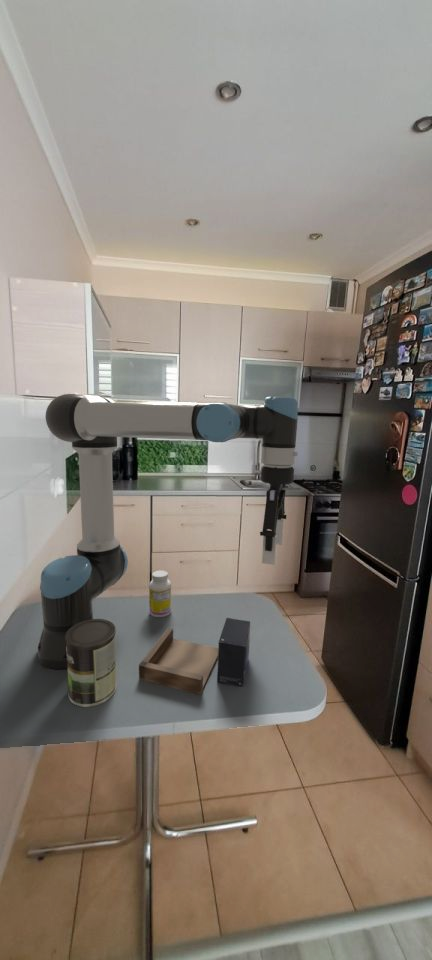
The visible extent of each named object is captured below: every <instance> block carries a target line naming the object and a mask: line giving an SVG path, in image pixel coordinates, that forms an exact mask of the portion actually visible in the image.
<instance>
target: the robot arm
mask: <svg viewBox="0 0 432 960" xmlns="http://www.w3.org/2000/svg"><path fill="white" fill-rule="evenodd" d="M298 405H299V403H298V400H297V399H296V398H295V397H290V396H267V397H265V399H264V402H263V404H262V405H239V404H231V403H226V402H217V401H215V402H211V403H210V402H207V403H206V402H201V403H198V402H141V401H140V402H136V401H134V402H127V401H125V402H124V401H122V402H120V401H118V402H117V401H114V400H112V399H110V398H109V397H103V396H101V395H100V396H99V395H86V394H76V393H67V394H66V393H65V394H60V395H58V396H57V397H55V398H53V399H52V401H50V403H49V404H48V405H47V408H46V410H45V423H46V426H47V427H48V430H49V431H50V433H52V435H53V436H55V437H56V438H57V439H59V440H60V441H64V442H67V443H71V448H72V449H73V450H74V451H75V452H76V453H77V454H78V467H79V468H78V470H79V471H78V473H79V493H80V515H81V516H80V517H81V518H80V519H81V536H82V537H81V540H80V541H78V543H77V544H76V554H75V555H66V556H65V557H59V558H57V559H54V560H52V561H50V562H49V563H48V564H47V565H46V566H44V567H43V569H42V571H41V573H40V584H39V585H40V586H39V588H40V589H39V590H40V597H41V609H42V619H43V620H42V621H43V628H42V632H41V635H40V638H39V642H38V646H37V659H38V662H39V663H40V664H41V665H42V666H44V667H46V668H48V669H53V670H64V669H67V652H66V641H65V634H66V632H67V631H68V630H69V629H70V628H71V627H72V626H74V625H75V624H77V623H80V622H82V621H86V620H90V619H94V612H93V609H94V608H93V601H94V600H95V599H96V598H97V597H99V596H100V595H101V594H103V593H104V592H106V591H107V590H108V589H109V588H110V587H112V586H114V585H115V584H116V583H118V581H120V580H121V578H122V577H123V576H124V575H125V574H126V572H127V570H128V569H127V568H128V563H129V561H128V555H127V553H126V551H125V550H124V548H123V546H122V545H121V542H120V540H119V539H118V538H117V537H116V536H115V522H114V521H115V520H114V519H115V517H114V515H115V513H114V485H113V484H114V482H113V481H114V480H113V477H114V476H113V453H114V451H115V450H116V449H118V438H139V439H164V440H165V439H166V440H189V441H190V440H193V441H209V442H212V443H227V442H228V441H232V440H234V439H256V440H257V439H261V440H262V445H261V459H260V460H261V462H260V463H261V464H263V465H262V466H261V468H260V481H261V482H262V483H264V484H268V485H269V488H268V490H266V493H265V494H266V498H265V508H264V516H263V524H262V525H263V526H262V531H260V532H259V536H262V537H263V539H262V556H261V558H262V559H261V564H266V565H272V566H274V565H275V563H276V547H277V546H276V545H279V546H282V545H283V537H284V536H283V535H284V533H283V530H284V520H287V514H286V511H285V502H286V501H285V500H286V489H285V486H286V485H291V484H293V483H294V478H295V477H294V476H295V475H294V474H295V468H294V467H293V465H294V464H295V457H298V455H299V454H298V452H297V451H295V450H296V443H297V433H298V419H299V418H298V413H299V411H298V410H299V409H298V408H299V407H298Z"/></svg>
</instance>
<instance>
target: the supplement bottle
mask: <svg viewBox="0 0 432 960" xmlns="http://www.w3.org/2000/svg"><path fill="white" fill-rule="evenodd" d="M168 574H169V573H168V572H167V571H166V570H161V569H160V570H156V571H154V572H152V573H151V576H152V580H151V581H150V582H149V584H148V589H149V591H148V592H149V593H148V594H149V598H148V599H149V602H148V603H149V614H150V615H151V616H153V617H154V618H165V617H166V616H169V615H170V614H171V613H172V582H171V580H170V579H168V578H169V575H168Z"/></svg>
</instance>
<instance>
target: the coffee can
mask: <svg viewBox="0 0 432 960" xmlns="http://www.w3.org/2000/svg"><path fill="white" fill-rule="evenodd" d="M116 632H117V630H116V625H115V624H114V623H113V622H112V621H110V620H108V619H104V618H93V619H90V620H86V621H82V622H80V623H77V624H75V625H74V626H72V627H71V628H70V629H69V630H68V631H67V632H66V634H65V641H66V652H67V668H66V669H67V682H68V695H67V696H68V699H69V701H70V702H71V703H72V704H73V705H74V704H75V705H74V706H76V705H77V706H76V707H81V708H92V707H97V706H99V705H102V704H104V703H105V702H107V701H108V700H110V699H111V698H112V697H113V695H114V694H115V692H116V691H117V686H118V683H117V659H116V657H117V656H116V654H117V653H116ZM91 706H92V707H91Z"/></svg>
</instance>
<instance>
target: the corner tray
mask: <svg viewBox="0 0 432 960" xmlns="http://www.w3.org/2000/svg"><path fill="white" fill-rule="evenodd" d="M217 661H218V647H215V646H210V645H206V644H201V643H196V642H191V641H186V640H181V639H176V638H174V628H172V627H167V628H166V630H165V631H164V632H163V633H162V635H161V636H160V637H159V638H158V640H157V641H156V642H155V644H154V645H153V646H152V648H151V649H150V650H149V652H148V653H147V654H146V656H145V657H143V659H142V661H141V662H140V663H139V664H138V679H139V680H141V681H145V682H148V683H152V684H157V685H160V686H164V687H169V688H173V689H177V690H180V691H185V692H188V693H193V694H195V695H199V696H200V695H202V692H203V690H204V689H205V685H206V684H207V682H208V680H209V677H210V675H211V673H212V671H213V670H214V669H213V668H214V667H215V664H216V663H217Z"/></svg>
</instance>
